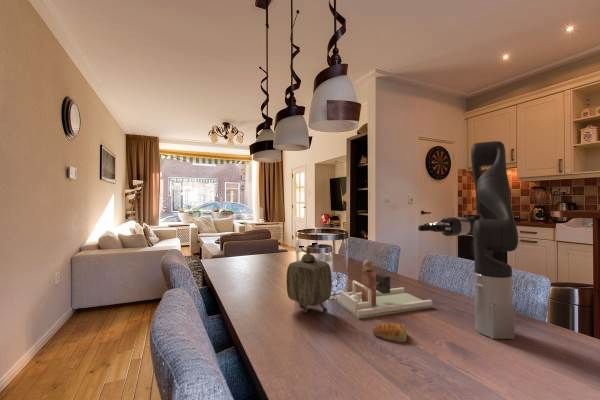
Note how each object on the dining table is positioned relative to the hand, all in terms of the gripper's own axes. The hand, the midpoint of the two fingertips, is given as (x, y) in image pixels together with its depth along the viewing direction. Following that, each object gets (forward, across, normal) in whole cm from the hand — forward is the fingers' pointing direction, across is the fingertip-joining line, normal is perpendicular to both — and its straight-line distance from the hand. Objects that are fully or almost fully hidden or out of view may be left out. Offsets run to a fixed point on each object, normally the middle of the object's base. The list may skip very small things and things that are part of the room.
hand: (419, 228), depth 113 cm
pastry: (+29, +22, +28) cm, 46 cm away
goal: (+29, 0, +27) cm, 39 cm away
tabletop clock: (+46, -3, +28) cm, 54 cm away
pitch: (+17, 0, +28) cm, 33 cm away
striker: (+20, 0, +27) cm, 34 cm away
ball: (+29, 0, +25) cm, 38 cm away
